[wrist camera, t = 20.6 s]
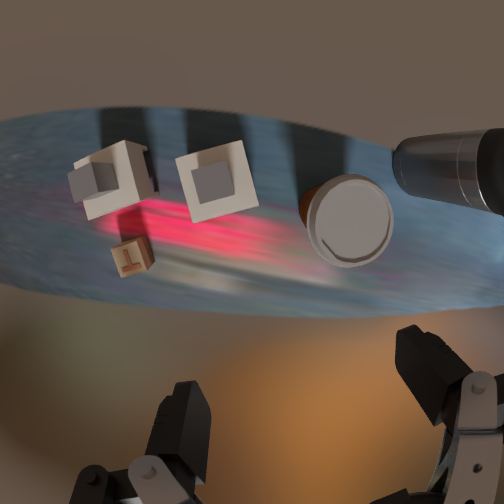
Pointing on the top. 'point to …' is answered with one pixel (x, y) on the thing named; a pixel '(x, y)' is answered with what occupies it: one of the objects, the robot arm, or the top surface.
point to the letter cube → (133, 256)
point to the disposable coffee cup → (347, 220)
